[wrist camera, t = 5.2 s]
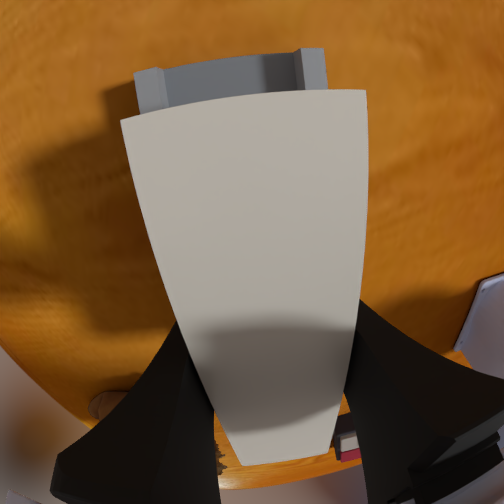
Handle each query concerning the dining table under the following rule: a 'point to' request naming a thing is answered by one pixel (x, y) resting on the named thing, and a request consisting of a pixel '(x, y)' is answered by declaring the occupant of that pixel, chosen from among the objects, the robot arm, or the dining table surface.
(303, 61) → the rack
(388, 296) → the dining table surface
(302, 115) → the white rectangular block
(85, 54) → the dining table surface
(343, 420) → the calculator
